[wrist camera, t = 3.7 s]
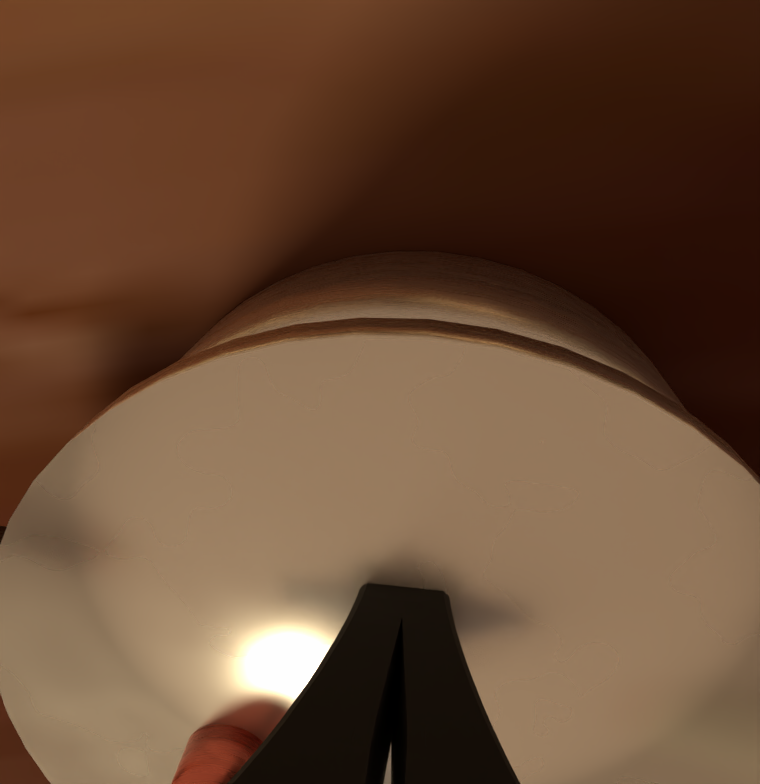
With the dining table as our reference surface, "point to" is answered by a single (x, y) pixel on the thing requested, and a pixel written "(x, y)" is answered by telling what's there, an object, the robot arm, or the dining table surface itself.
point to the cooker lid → (387, 556)
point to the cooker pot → (437, 305)
